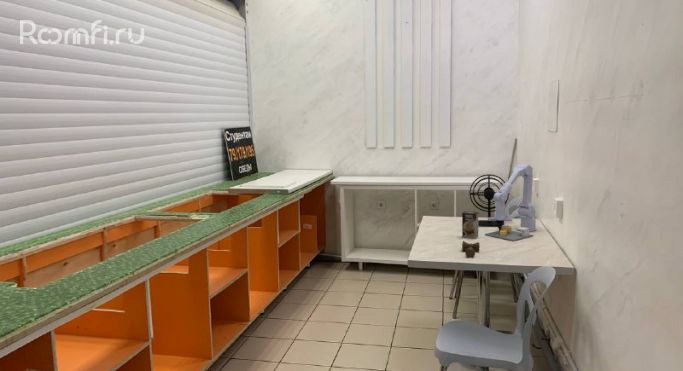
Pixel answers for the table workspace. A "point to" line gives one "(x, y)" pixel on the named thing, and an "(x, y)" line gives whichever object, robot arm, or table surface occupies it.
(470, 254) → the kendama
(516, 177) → the robot arm
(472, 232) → the coffee box
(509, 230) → the link
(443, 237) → the table surface
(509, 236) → the base
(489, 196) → the desk fan
